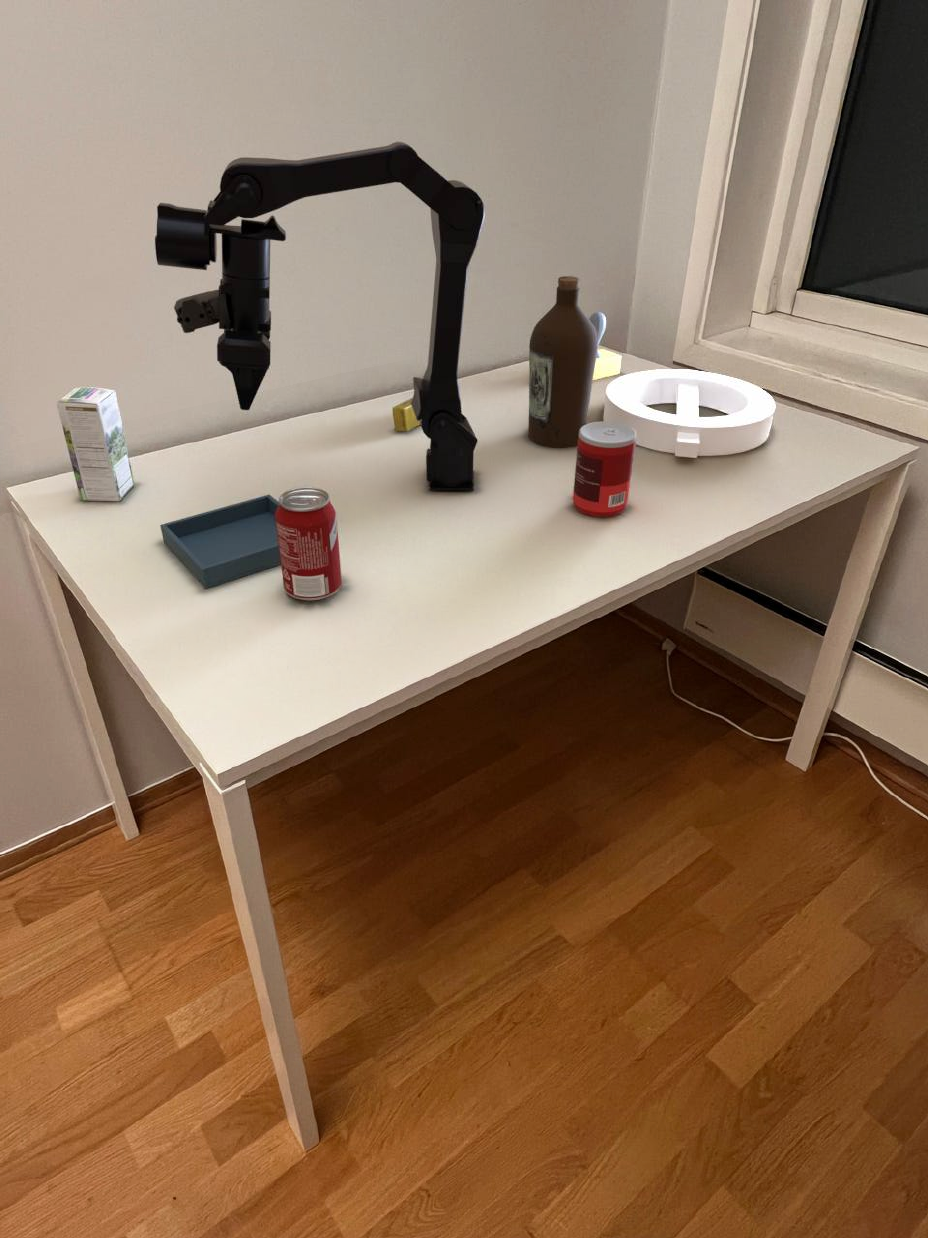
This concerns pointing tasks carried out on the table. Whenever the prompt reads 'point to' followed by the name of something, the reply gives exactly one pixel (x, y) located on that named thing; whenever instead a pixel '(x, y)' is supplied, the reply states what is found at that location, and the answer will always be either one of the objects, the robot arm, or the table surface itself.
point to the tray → (226, 541)
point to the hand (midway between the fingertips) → (245, 397)
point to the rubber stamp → (604, 351)
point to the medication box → (404, 416)
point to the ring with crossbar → (690, 412)
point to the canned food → (603, 468)
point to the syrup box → (96, 443)
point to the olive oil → (561, 370)
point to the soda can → (308, 543)
